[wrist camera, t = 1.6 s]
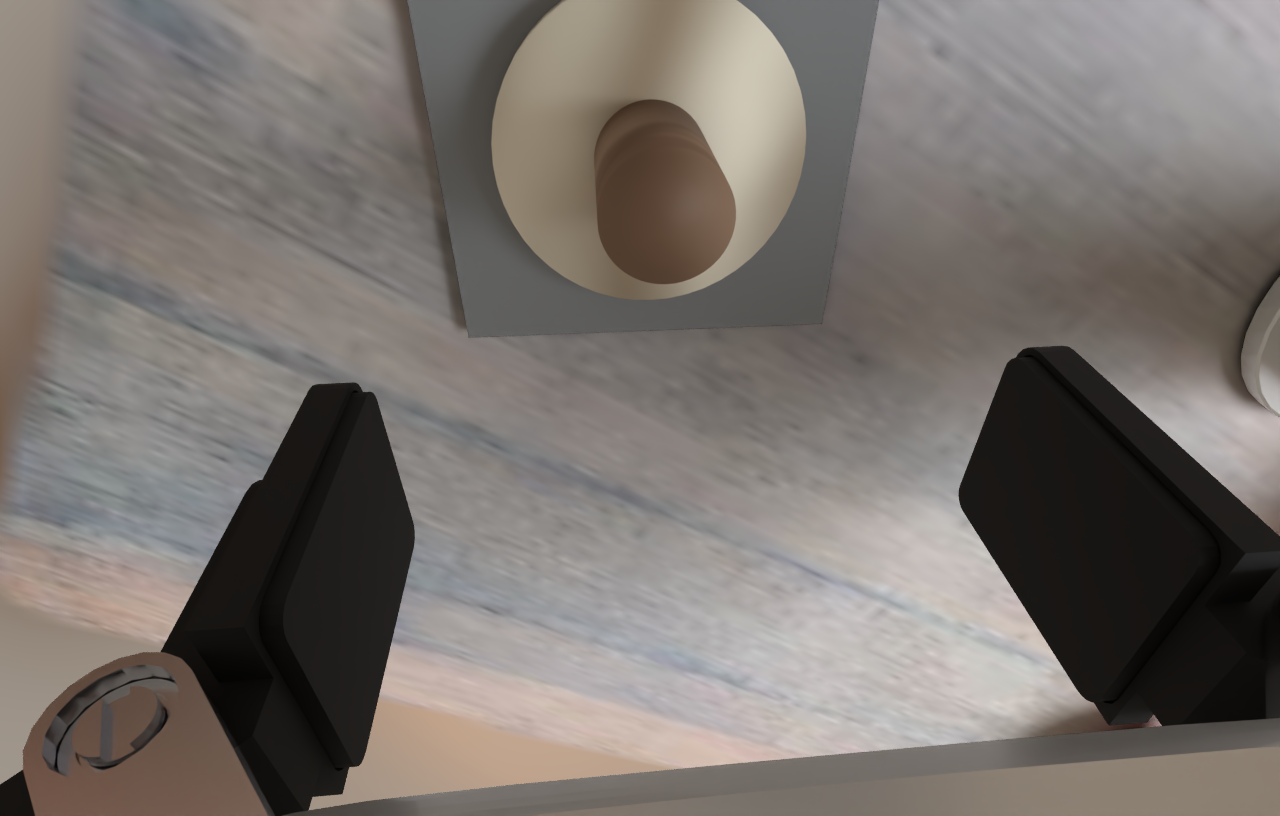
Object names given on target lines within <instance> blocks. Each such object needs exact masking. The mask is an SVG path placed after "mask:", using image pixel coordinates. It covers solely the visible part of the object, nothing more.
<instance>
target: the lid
mask: <svg viewBox="0 0 1280 816" xmlns="http://www.w3.org/2000/svg"><path fill="white" fill-rule="evenodd" d="M805 145H806V121H805V110H804V105H803V99H802V94H801V90H800V87H799V84H798V81H797V78H796V75H795V72H794V69H793V67H792V65H791V63H790V61H789V59H788V57H787V55H786V53H785V51H784V50H783V48H782V47H781V45H780V44H779V42H778V41H777V39H776V38H775V36H774V35H773V33H772V32H771V31H770V30H769V29H768V28H767V27H766V26H765V24H764V23H763V22H762V21H761V20H760V19H759V18H758V17H757V16H756V15H755V14H754V13H752V12H751V11H750V10H749V9H748V8H746V7H745V6H744V5H743V4H741V3H740V2H739V1H737V0H561V1H560V2H559V3H558V4H557V5H555V6H554V7H553V8H552V9H551V10H550V11H548V12H547V13H546V14H545V15H544V16H543V17H542V18H541V19H540V20H539V21H538V23H537V24H536V25H535V26H534V27H533V28H532V29H531V30H530V32H529V33H528V35H527V36H526V38H525V39H524V40H523V42H522V43H521V45H520V46H519V48H518V49H517V51H516V53H515V55H514V57H513V59H512V62H511V64H510V66H509V68H508V70H507V72H506V74H505V77H504V79H503V82H502V85H501V88H500V91H499V94H498V97H497V101H496V106H495V111H494V117H493V122H492V140H491V146H492V160H493V168H494V173H495V178H496V183H497V187H498V190H499V193H500V196H501V199H502V201H503V204H504V207H505V209H506V211H507V213H508V215H509V217H510V219H511V221H512V223H513V224H514V226H515V227H516V229H517V231H518V232H519V234H520V235H521V237H522V238H523V240H524V241H525V242H526V243H527V244H528V245H529V247H530V248H531V249H532V250H533V251H534V253H535V254H536V255H537V256H539V257H540V258H541V259H542V260H543V261H544V262H545V263H546V264H547V265H548V266H549V267H551V268H552V269H554V270H555V271H556V272H558V273H559V274H561V275H562V276H563V277H565V278H567V279H569V280H570V281H572V282H574V283H576V284H578V285H580V286H582V287H584V288H587V289H589V290H592V291H594V292H597V293H601V294H604V295H608V296H612V297H617V298H624V299H631V300H656V299H666V298H672V297H676V296H681V295H685V294H689V293H691V292H694V291H697V290H700V289H703V288H705V287H707V286H709V285H711V284H714V283H716V282H718V281H720V280H721V279H723V278H725V277H726V276H728V275H729V274H731V273H733V272H734V271H736V270H737V269H738V268H739V267H741V266H742V265H743V264H744V263H746V262H747V261H748V260H749V259H751V258H752V257H753V256H754V255H755V254H756V253H757V252H758V251H759V250H760V249H761V248H762V246H763V245H764V244H765V243H766V242H767V240H768V239H769V238H770V237H771V235H772V234H773V233H774V232H775V230H776V229H777V227H778V226H779V224H780V222H781V221H782V219H783V217H784V216H785V214H786V212H787V210H788V208H789V206H790V204H791V201H792V199H793V197H794V195H795V192H796V189H797V186H798V183H799V180H800V176H801V172H802V167H803V162H804V157H805Z"/></svg>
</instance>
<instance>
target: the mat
mask: <svg viewBox="0 0 1280 816" xmlns="http://www.w3.org/2000/svg"><path fill="white" fill-rule="evenodd" d="M560 1H561V0H407V2H408V7H409V13H410V18H411V24H412V29H413V35H414V40H415V46H416V51H417V57H418V62H419V68H420V73H421V79H422V84H423V90H424V95H425V101H426V106H427V112H428V117H429V123H430V128H431V134H432V139H433V145H434V150H435V156H436V161H437V167H438V172H439V178H440V183H441V189H442V194H443V200H444V205H445V211H446V216H447V222H448V227H449V233H450V238H451V244H452V249H453V255H454V260H455V266H456V271H457V277H458V282H459V288H460V293H461V299H462V304H463V310H464V315H465V321H466V326H467V332H468V337H469V338H474V337H499V336H525V335H551V334H576V333H602V332H628V331H653V330H679V329H705V328H730V327H756V326H782V325H807V324H822V320H823V314H824V309H825V303H826V297H827V292H828V286H829V280H830V275H831V269H832V263H833V258H834V252H835V246H836V241H837V235H838V230H839V224H840V218H841V213H842V207H843V201H844V196H845V190H846V184H847V179H848V173H849V167H850V162H851V156H852V150H853V145H854V139H855V133H856V128H857V122H858V116H859V111H860V105H861V99H862V94H863V88H864V82H865V77H866V71H867V65H868V60H869V54H870V48H871V43H872V37H873V32H874V26H875V20H876V15H877V9H878V3H879V0H737V1H739V2H740V3H741V4H743V5H744V6H745V7H746V8H748V9H749V10H750V11H751V12H752V13H754V14H755V15H756V16H757V17H758V18H759V19H760V20H761V21H762V22H763V23H764V24H765V26H766V27H767V28H768V29H769V30H770V31H771V32H772V33H773V35H774V36H775V38H776V39H777V41H778V42H779V44H780V45H781V47H782V48H783V50H784V51H785V53H786V55H787V57H788V59H789V61H790V63H791V65H792V67H793V69H794V72H795V75H796V78H797V81H798V84H799V87H800V90H801V94H802V99H803V105H804V110H805V121H806V145H805V157H804V162H803V167H802V172H801V176H800V180H799V183H798V186H797V189H796V192H795V195H794V197H793V199H792V201H791V204H790V206H789V208H788V210H787V212H786V214H785V216H784V217H783V219H782V221H781V222H780V224H779V226H778V227H777V229H776V230H775V232H774V233H773V234H772V235H771V237H770V238H769V239H768V240H767V242H766V243H765V244H764V245H763V246H762V248H761V249H760V250H759V251H758V252H757V253H756V254H755V255H754V256H753V257H752V258H751V259H749V260H748V261H747V262H746V263H744V264H743V265H742V266H741V267H739V268H738V269H737V270H736V271H734V272H733V273H731V274H729V275H728V276H726V277H725V278H723V279H721V280H720V281H718V282H716V283H714V284H711V285H709V286H707V287H705V288H703V289H700V290H697V291H694V292H691V293H689V294H685V295H681V296H676V297H672V298H666V299H656V300H631V299H624V298H617V297H612V296H608V295H604V294H601V293H597V292H594V291H592V290H589V289H587V288H584V287H582V286H580V285H578V284H576V283H574V282H572V281H570V280H569V279H567V278H565V277H563V276H562V275H561V274H559V273H558V272H556V271H555V270H554V269H552V268H551V267H549V266H548V265H547V264H546V263H545V262H544V261H543V260H542V259H541V258H540V257H539V256H537V255H536V254H535V253H534V251H533V250H532V249H531V248H530V247H529V245H528V244H527V243H526V242H525V241H524V240H523V238H522V237H521V235H520V234H519V232H518V231H517V229H516V227H515V226H514V224H513V223H512V221H511V219H510V217H509V215H508V213H507V211H506V209H505V207H504V204H503V201H502V199H501V196H500V193H499V190H498V187H497V183H496V178H495V173H494V168H493V160H492V146H491V140H492V122H493V117H494V111H495V106H496V101H497V97H498V94H499V91H500V88H501V85H502V82H503V79H504V77H505V74H506V72H507V70H508V68H509V66H510V64H511V62H512V59H513V57H514V55H515V53H516V51H517V49H518V48H519V46H520V45H521V43H522V42H523V40H524V39H525V38H526V36H527V35H528V33H529V32H530V30H531V29H532V28H533V27H534V26H535V25H536V24H537V23H538V21H539V20H540V19H541V18H542V17H543V16H544V15H545V14H546V13H547V12H548V11H550V10H551V9H552V8H553V7H554V6H555V5H557V4H558V3H559V2H560Z"/></svg>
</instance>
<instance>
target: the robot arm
mask: <svg viewBox="0 0 1280 816" xmlns="http://www.w3.org/2000/svg"><path fill="white" fill-rule="evenodd" d="M1241 372H1242V377H1243V380H1244V382H1245V385H1246V387H1247V390H1248V391H1249V392H1250V393H1251V395H1252V396H1253V397H1254V398H1255V399H1256V400H1257V401H1258V402H1259V403H1260V404H1261V405H1263V406H1264V407H1266V408H1267V409H1268V410H1270V411H1271V412H1272V413H1274V414H1275V415H1276V416H1278V417H1280V277H1279V278H1278V279H1277V280H1276V281H1275V282H1274V284H1273V285H1272V287H1271V288H1270V290H1269V291H1268V293H1267V294H1266V296H1265V298H1264V299H1263V301H1262V302H1261V304H1260V305H1259V307H1258V308H1257V310H1256V313H1255V315H1254V317H1253V319H1252V321H1251V324H1250V326H1249V328H1248V330H1247V332H1246V336H1245V340H1244V345H1243V349H1242V353H1241ZM959 502H960V505H961V508H962V510H963V512H964V513H965V515H966V517H967V518H968V520H969V521H970V523H971V524H972V526H973V528H974V529H975V531H976V532H977V534H978V535H979V537H980V539H981V540H982V542H983V543H984V545H985V546H986V548H987V550H988V551H989V553H990V554H991V556H992V557H993V559H994V560H995V562H996V564H997V565H998V567H999V568H1000V570H1001V571H1002V573H1003V575H1004V576H1005V578H1006V579H1007V581H1008V582H1009V584H1010V586H1011V587H1012V589H1013V590H1014V592H1015V593H1016V595H1017V596H1018V598H1019V600H1020V601H1021V603H1022V604H1023V606H1024V607H1025V609H1026V611H1027V612H1028V614H1029V615H1030V617H1031V618H1032V620H1033V622H1034V623H1035V625H1036V626H1037V628H1038V629H1039V631H1040V632H1041V634H1042V636H1043V637H1044V639H1045V640H1046V642H1047V643H1048V645H1049V647H1050V648H1051V650H1052V651H1053V653H1054V654H1055V656H1056V658H1057V659H1058V661H1059V662H1060V664H1061V665H1062V667H1063V669H1064V670H1065V672H1066V673H1067V675H1068V676H1069V678H1070V679H1071V681H1072V683H1073V684H1074V686H1075V687H1076V689H1077V690H1078V692H1079V693H1080V694H1081V695H1082V696H1083V697H1084V698H1085V699H1086V700H1088V701H1090V702H1094V704H1095V705H1096V707H1097V708H1098V710H1099V711H1100V713H1101V714H1102V716H1103V717H1104V719H1105V720H1106V722H1107V724H1108V725H1121V724H1132V723H1143V722H1148V720H1149V719H1150V718H1151V717H1152V716H1153V715H1155V717H1156V718H1157V719H1158V721H1159V722H1160V724H1161V725H1162V726H1159V727H1147V728H1136V729H1124V730H1112V731H1100V732H1088V733H1077V734H1065V735H1053V736H1041V737H1029V738H1018V739H1006V740H994V741H982V742H971V743H959V744H948V745H937V746H926V747H915V748H903V749H892V750H881V751H870V752H859V753H847V754H836V755H825V756H814V757H803V758H792V759H781V760H770V761H759V762H748V763H737V764H726V765H716V766H705V767H695V768H684V769H674V770H663V771H653V772H642V773H631V774H621V775H610V776H600V777H589V778H580V779H569V780H558V781H548V782H538V783H526V784H516V785H506V786H497V787H489V788H480V789H471V790H462V791H453V792H444V793H435V794H426V795H418V796H408V797H399V798H391V799H382V800H373V801H366V802H359V803H353V804H347V805H341V806H334V807H328V808H322V809H315V810H309V807H310V803H311V800H312V797H316V796H326V795H338V794H342V793H343V790H344V785H345V782H346V778H347V774H348V769H349V767H355V766H359V765H360V764H361V763H362V760H363V758H364V755H365V752H366V749H367V744H368V739H369V736H370V731H371V727H372V723H373V719H374V714H375V710H376V706H377V702H378V697H379V693H380V689H381V685H382V680H383V676H384V672H385V668H386V663H387V659H388V655H389V650H390V646H391V642H392V638H393V633H394V629H395V625H396V621H397V616H398V612H399V608H400V604H401V599H402V595H403V591H404V587H405V582H406V578H407V574H408V569H409V565H410V561H411V557H412V552H413V548H414V540H415V532H414V524H413V520H412V517H411V513H410V510H409V507H408V503H407V500H406V496H405V493H404V490H403V486H402V483H401V480H400V476H399V473H398V469H397V466H396V463H395V459H394V456H393V453H392V449H391V446H390V442H389V439H388V436H387V432H386V429H385V426H384V422H383V419H382V415H381V412H380V409H379V405H378V402H377V399H376V397H375V395H374V394H373V393H372V392H363V391H362V389H361V387H360V386H359V385H358V384H357V383H336V384H316V385H313V386H312V387H311V388H310V390H309V391H308V393H307V395H306V397H305V399H304V401H303V403H302V405H301V407H300V409H299V410H298V412H297V414H296V416H295V418H294V420H293V422H292V424H291V426H290V428H289V430H288V432H287V434H286V436H285V437H284V439H283V441H282V443H281V445H280V447H279V449H278V451H277V453H276V455H275V457H274V459H273V461H272V463H271V464H270V466H269V468H268V470H267V472H266V474H265V476H264V478H263V480H259V481H257V482H255V483H253V484H252V485H251V486H250V488H249V489H248V490H247V492H246V493H245V495H244V497H243V499H242V501H241V503H240V505H239V506H238V508H237V510H236V512H235V514H234V516H233V518H232V519H231V521H230V523H229V525H228V527H227V529H226V531H225V533H224V534H223V536H222V538H221V540H220V542H219V544H218V546H217V547H216V549H215V551H214V553H213V555H212V557H211V559H210V561H209V562H208V564H207V566H206V568H205V570H204V572H203V574H202V576H201V577H200V579H199V581H198V583H197V585H196V587H195V589H194V590H193V592H192V594H191V596H190V598H189V600H188V602H187V604H186V605H185V607H184V609H183V611H182V613H181V615H180V617H179V618H178V620H177V622H176V624H175V626H174V628H173V630H172V632H171V633H170V635H169V637H168V639H167V641H166V643H165V645H164V647H163V648H162V650H161V652H143V653H139V654H135V655H130V656H126V657H122V658H119V659H117V660H114V661H112V662H110V663H108V664H105V665H104V666H101V667H99V668H97V669H95V670H93V671H91V672H90V673H88V674H87V675H85V676H84V677H82V678H81V679H79V680H78V681H76V682H75V683H73V684H72V685H70V686H69V687H68V688H67V689H66V690H65V691H64V692H63V693H62V694H60V695H59V696H58V697H57V698H56V699H55V700H54V701H53V702H52V703H51V704H50V705H49V706H48V707H47V708H46V710H45V711H44V712H43V714H42V715H41V717H40V718H39V719H38V721H37V722H36V723H35V725H34V726H33V728H32V730H31V732H30V735H29V737H28V740H27V742H26V745H25V747H24V750H23V770H22V771H20V772H19V773H17V774H16V775H14V776H13V777H11V778H10V779H8V780H7V781H5V782H3V783H2V784H0V816H1280V536H1279V535H1277V534H1276V533H1275V532H1274V531H1273V530H1272V529H1271V528H1270V527H1269V526H1268V525H1266V524H1265V523H1264V522H1263V521H1262V520H1261V519H1260V518H1259V517H1258V516H1256V515H1255V514H1254V513H1253V512H1252V511H1251V510H1250V509H1249V508H1248V507H1247V506H1245V505H1244V504H1243V503H1242V502H1241V501H1240V500H1239V499H1238V498H1237V497H1235V496H1234V495H1233V494H1232V493H1231V492H1230V491H1229V490H1228V489H1227V488H1226V487H1224V486H1223V485H1222V484H1221V483H1220V482H1219V481H1218V480H1217V479H1216V478H1214V477H1213V476H1212V475H1211V474H1210V473H1209V472H1208V471H1207V470H1206V469H1205V468H1203V467H1202V466H1201V465H1200V464H1199V463H1198V462H1197V461H1196V460H1195V459H1193V458H1192V457H1191V456H1190V455H1189V454H1188V453H1187V452H1186V451H1185V450H1184V449H1182V448H1181V447H1180V446H1179V445H1178V444H1177V443H1176V442H1175V441H1174V440H1173V439H1171V438H1170V437H1169V436H1168V435H1167V434H1166V433H1165V432H1164V431H1163V430H1161V429H1160V428H1159V427H1158V426H1157V425H1156V424H1155V423H1154V422H1153V421H1152V420H1150V419H1149V418H1148V417H1147V416H1146V415H1145V414H1144V413H1143V412H1142V411H1140V410H1139V409H1138V408H1137V407H1136V406H1135V405H1134V404H1133V403H1132V402H1131V401H1129V400H1128V399H1127V398H1126V397H1125V396H1124V395H1123V394H1122V393H1121V392H1119V391H1118V390H1117V389H1116V388H1115V387H1114V386H1113V385H1112V384H1111V383H1110V382H1108V381H1107V380H1106V379H1105V378H1104V377H1103V376H1102V375H1101V374H1100V373H1098V372H1097V371H1096V370H1095V369H1094V368H1093V367H1092V366H1091V365H1090V364H1089V363H1087V362H1086V361H1085V360H1084V359H1083V358H1082V357H1081V356H1080V355H1079V354H1078V353H1076V352H1075V351H1074V350H1073V349H1071V348H1069V347H1067V346H1051V347H1031V348H1026V349H1023V350H1022V351H1021V352H1020V353H1019V354H1018V355H1017V357H1016V358H1014V359H1011V360H1010V361H1009V362H1008V363H1007V365H1006V367H1005V369H1004V372H1003V375H1002V377H1001V380H1000V382H999V385H998V388H997V390H996V393H995V396H994V398H993V401H992V403H991V406H990V409H989V411H988V414H987V416H986V419H985V422H984V424H983V427H982V430H981V432H980V435H979V437H978V440H977V443H976V445H975V448H974V451H973V453H972V456H971V458H970V461H969V464H968V466H967V469H966V471H965V474H964V477H963V479H962V482H961V485H960V488H959ZM308 810H309V811H308Z"/></svg>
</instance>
